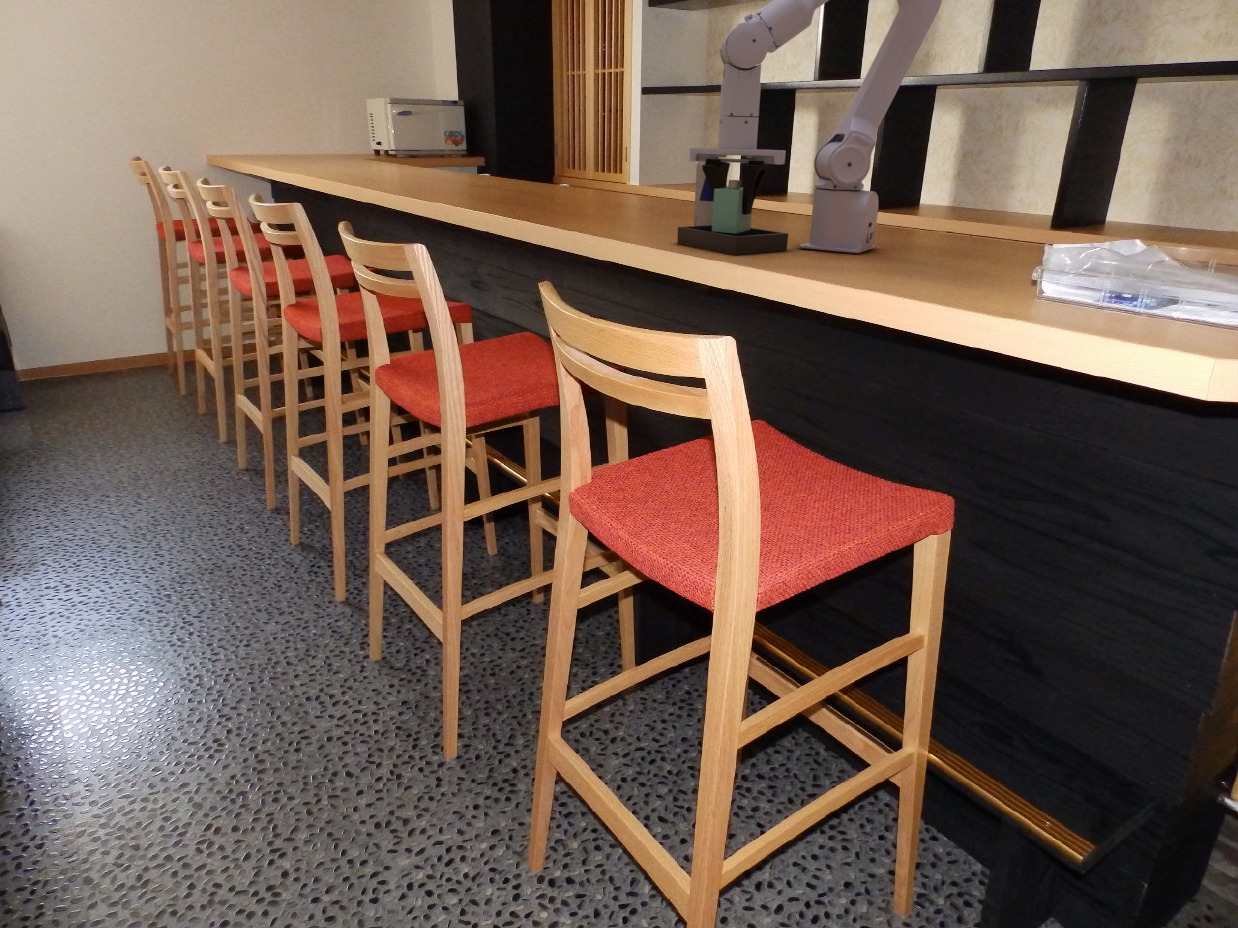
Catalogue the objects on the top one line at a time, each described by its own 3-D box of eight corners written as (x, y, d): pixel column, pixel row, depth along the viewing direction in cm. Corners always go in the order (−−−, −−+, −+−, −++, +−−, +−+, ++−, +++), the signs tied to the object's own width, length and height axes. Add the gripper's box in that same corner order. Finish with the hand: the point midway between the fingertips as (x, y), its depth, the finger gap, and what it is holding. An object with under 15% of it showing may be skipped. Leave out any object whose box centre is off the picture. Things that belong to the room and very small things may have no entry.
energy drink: (722, 234, 145) (726, 161, 141) (691, 233, 146) (694, 160, 142) (725, 231, 150) (729, 160, 145) (695, 230, 151) (699, 159, 147)
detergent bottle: (750, 230, 131) (754, 180, 128) (735, 233, 126) (739, 182, 123) (726, 227, 133) (730, 178, 130) (711, 231, 128) (714, 180, 125)
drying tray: (786, 251, 127) (788, 233, 126) (735, 255, 122) (736, 237, 121) (726, 240, 138) (727, 224, 137) (677, 243, 133) (677, 227, 132)
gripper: (795, 118, 123) (787, 214, 128) (704, 117, 130) (700, 208, 135) (779, 117, 117) (771, 217, 123) (685, 116, 124) (681, 211, 129)
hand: (732, 213), depth 128 cm, fingers closed on detergent bottle, 4 cm apart
